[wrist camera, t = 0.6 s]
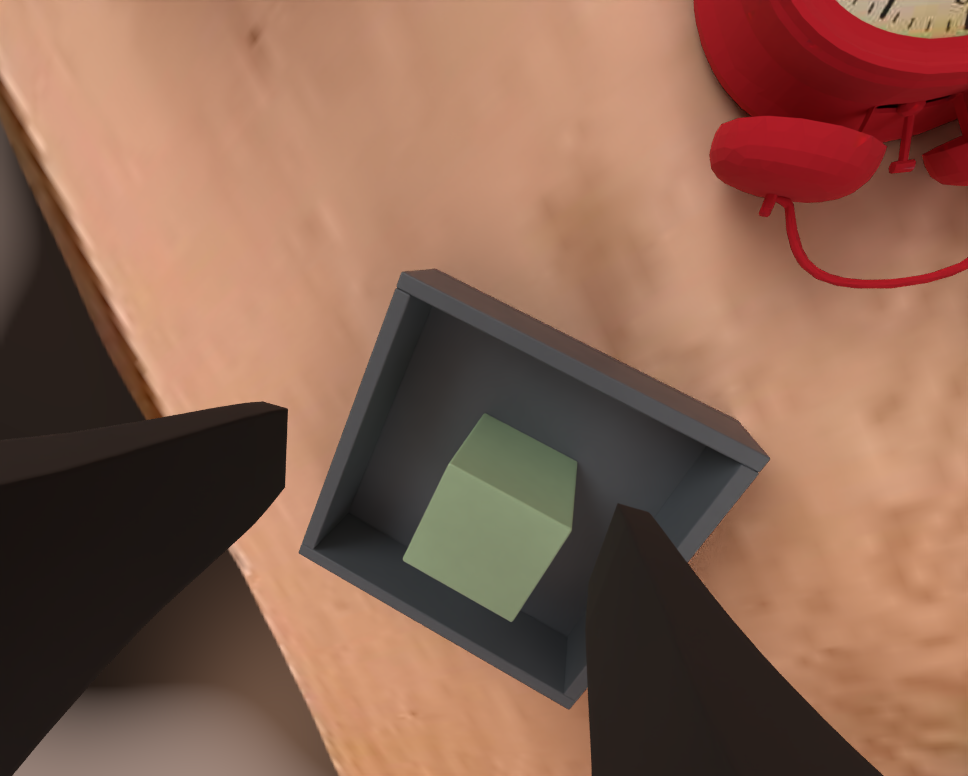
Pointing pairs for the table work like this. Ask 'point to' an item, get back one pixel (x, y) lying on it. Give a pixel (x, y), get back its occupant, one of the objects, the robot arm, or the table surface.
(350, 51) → the table surface
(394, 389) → the tub
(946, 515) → the table surface
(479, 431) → the block
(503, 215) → the table surface
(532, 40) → the table surface
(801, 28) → the alarm clock
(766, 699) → the robot arm
